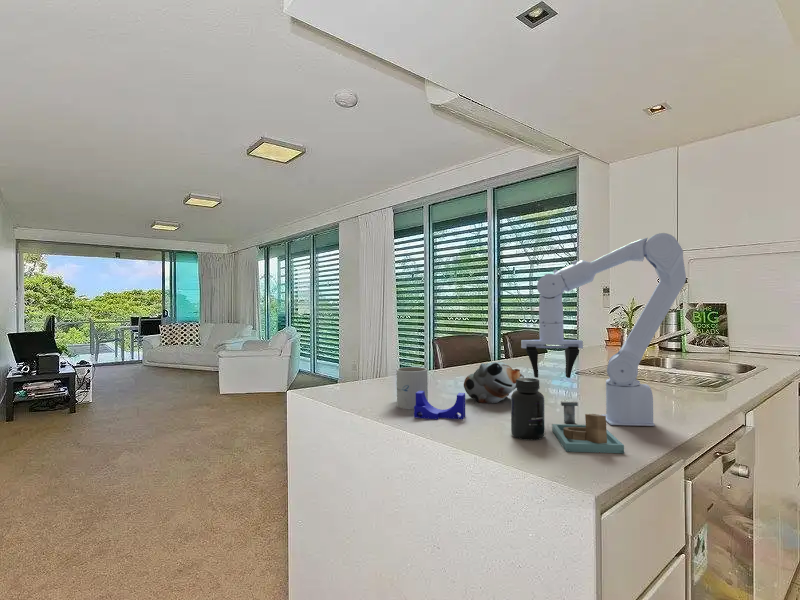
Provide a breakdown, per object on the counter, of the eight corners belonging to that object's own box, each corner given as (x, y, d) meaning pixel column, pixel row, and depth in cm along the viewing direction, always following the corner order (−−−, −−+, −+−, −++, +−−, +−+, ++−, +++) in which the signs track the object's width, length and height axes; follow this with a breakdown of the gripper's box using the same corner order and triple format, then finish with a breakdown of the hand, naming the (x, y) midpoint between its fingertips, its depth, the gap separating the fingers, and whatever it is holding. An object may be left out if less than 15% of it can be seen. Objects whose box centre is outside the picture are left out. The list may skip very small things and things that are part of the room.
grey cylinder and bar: (576, 421, 106) (575, 401, 106) (578, 424, 103) (578, 403, 103) (560, 421, 106) (560, 400, 106) (562, 423, 104) (562, 403, 104)
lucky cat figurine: (504, 393, 138) (522, 355, 133) (513, 418, 127) (533, 378, 122) (459, 381, 137) (475, 342, 131) (464, 404, 125) (482, 363, 120)
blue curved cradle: (414, 418, 111) (413, 394, 111) (419, 413, 116) (418, 390, 116) (462, 421, 108) (461, 396, 108) (465, 417, 112) (465, 393, 112)
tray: (602, 432, 97) (602, 425, 97) (624, 453, 83) (624, 445, 83) (552, 430, 98) (552, 423, 98) (565, 451, 85) (565, 443, 85)
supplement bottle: (540, 443, 90) (539, 383, 90) (507, 437, 94) (506, 380, 94) (548, 434, 96) (547, 378, 96) (517, 429, 100) (516, 375, 100)
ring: (557, 435, 92) (556, 410, 93) (581, 434, 94) (580, 409, 95) (590, 444, 84) (589, 416, 84) (615, 442, 86) (613, 415, 86)
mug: (432, 407, 122) (432, 370, 122) (402, 410, 119) (402, 372, 119) (417, 398, 133) (416, 364, 133) (389, 400, 131) (388, 366, 131)
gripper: (577, 321, 115) (578, 374, 115) (519, 322, 117) (520, 374, 117) (584, 323, 108) (585, 379, 108) (522, 323, 110) (523, 378, 110)
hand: (552, 377), depth 112 cm, fingers open, 7 cm apart
